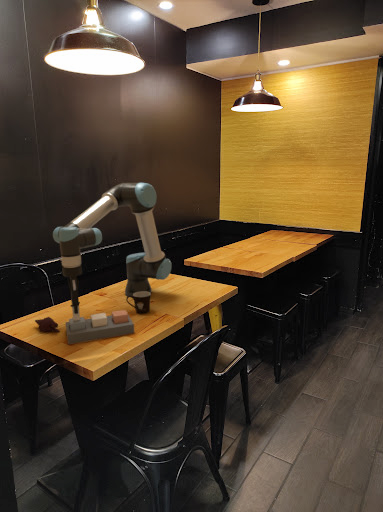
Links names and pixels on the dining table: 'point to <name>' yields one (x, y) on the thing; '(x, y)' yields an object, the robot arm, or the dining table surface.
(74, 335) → the key panel
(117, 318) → the terracotta key
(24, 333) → the dining table surface
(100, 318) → the white key
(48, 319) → the dark brown irregular piece
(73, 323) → the slate key
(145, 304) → the coffee mug
